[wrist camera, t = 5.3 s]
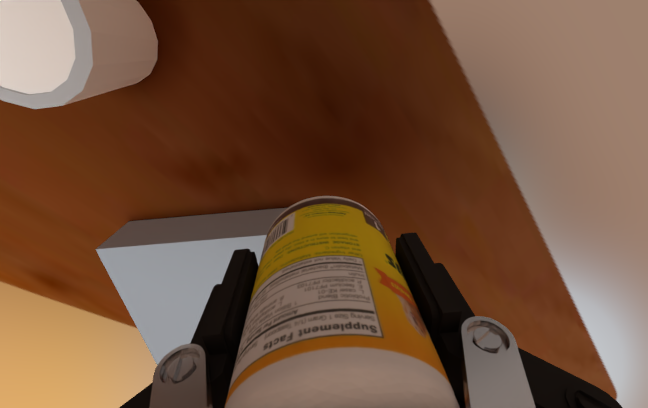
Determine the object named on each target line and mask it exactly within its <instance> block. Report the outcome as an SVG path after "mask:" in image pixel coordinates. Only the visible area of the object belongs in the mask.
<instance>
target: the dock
mask: <svg viewBox="0 0 648 408" xmlns="http://www.w3.org/2000/svg"><path fill="white" fill-rule="evenodd" d="M286 209H287V208H278V209H266V210H255V211H243V212H231V213H220V214H208V215H196V216H185V217H173V218H162V219H150V220H138V221H129V222H128V223H127V224H125V225H124V226H123V227H122V228H121V229H119V230H118V231H117V232H116V233H115V234H113V235H112V236H111V237H110V238H109V239H107V240H106V241H105V242H104V243H103V244H101V245H100V246H99V247H98V248H97V249H96V251H97V253H98V255H99V257H100V259H101V260H102V262H103V264H104V266H105V268H106V270H107V272H108V274H109V275H110V277H111V279H112V281H113V283H114V285H115V287H116V289H117V290H118V292H119V294H120V296H121V298H122V300H123V302H124V304H125V306H126V307H127V309H128V311H129V313H130V315H131V317H132V319H133V321H134V322H135V324H136V326H137V328H138V330H139V332H140V334H141V335H142V337H143V339H144V341H145V343H146V345H147V347H148V349H149V351H150V352H151V354H152V356H153V358H154V360H155V362H156V364H157V365H158V364H159V362H160V361H161V360H162V359H163V358H164V356H165V355H166V354H168V353H169V352H170V351H172V350H173V349H175V348H177V347H179V346H181V345H185V344H190V343H191V340H192V338H193V335H194V333H195V331H196V328H197V326H198V323H199V321H200V318H201V316H202V314H203V311H204V309H205V306H206V304H207V302H208V299H209V297H210V294H211V292H212V289H213V287H214V286H215V285H216V284H221V283H222V281H223V278H224V275H225V273H226V270H227V268H228V265H229V262H230V260H231V257H232V255H233V252H234V250H239V249H250V251H251V252H255V254H256V258H257V262H258V266H259V263H260V259H261V255H262V251H263V247H264V243H265V240H266V237H267V234H268V231H269V229H270V227H271V225H272V224H273V222H274V221H275V220H276V218H277V217H278V216H279V215H280V214H281V213H282V212H283V211H285V210H286Z"/></svg>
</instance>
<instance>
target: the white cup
mask: <svg viewBox="0 0 648 408" xmlns="http://www.w3.org/2000/svg"><path fill="white" fill-rule="evenodd" d="M157 55H158V40H157V37H156V33H155V30H154V27H153V24H152V21H151V19H150V18H149V17H148V15H147V14H146V12H145V11H144V9H143V8H142V6H141V5H140V4H139V2H138V1H137V0H0V99H1V100H2V101H6V102H9V103H13V104H17V105H21V106H25V107H28V108H32V109H39V108H48V107H56V106H63V105H66V104H69V103H73V102H76V101H79V100H83V99H86V98H89V97H93V96H96V95H99V94H103V93H106V92H109V91H112V90H116V89H119V88H122V87H126V86H129V85H132V84H136V83H138V82H140V81H141V80H143V79H144V78H145V77H147V76H148V75H150V74H151V72H152V70H153V68H154V65H155V63H156V61H157Z"/></svg>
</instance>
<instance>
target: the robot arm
mask: <svg viewBox="0 0 648 408" xmlns="http://www.w3.org/2000/svg"><path fill="white" fill-rule="evenodd" d="M396 259H397V261H398V263H399V266H400V268H401V270H402V272H403V275H404V277H405V279H406V281H407V283H408V286H409V288H410V291H411V293H412V296H413V298H414V300H415V303H416V305H417V307H418V310H419V312H420V314H421V317H422V319H423V321H424V323H425V326H426V328H427V331H428V333H429V335H430V338H431V340H432V342H433V345H434V347H435V349H436V351H437V354H438V356H439V358H440V361H441V363H442V365H443V368H444V370H445V372H446V375H447V377H448V380H449V382H450V384H451V387H452V389H453V391H454V394H455V397H456V399H457V402H458V404H459V407H460V408H622V407H621V405H620V404H619V403H618V402H617V401H616V400H615V399H613V398H612V397H611V396H610V395H609V394H607V393H606V392H604V391H603V390H601V389H599V388H598V387H596V386H594V385H592V384H590V383H588V382H586V381H584V380H582V379H580V378H578V377H576V376H574V375H572V374H570V373H568V372H566V371H564V370H562V369H560V368H558V367H556V366H554V365H552V364H550V363H548V362H546V361H544V360H542V359H540V358H538V357H536V356H534V355H532V354H530V353H528V352H526V351H524V350H522V349H520V348H518V347H517V344H516V341H515V339H514V337H513V335H512V333H511V332H510V331H509V330H508V329H507V328H506V327H505V326H503V325H502V324H501V323H499V322H497V321H495V320H493V319H490V318H487V317H479V316H475V315H474V313H473V312H472V310H471V309H470V307H469V305H468V304H467V302H466V301H465V299H464V297H463V296H462V294H461V293H460V291H459V289H458V288H457V286H456V285H455V283H454V281H453V280H452V278H451V277H450V275H449V273H448V272H447V270H446V269H445V267H444V266H443V265H442V264H441V263H435V264H434V262H433V261H432V259H431V257H430V256H429V254H428V252H427V250H426V249H425V247H424V245H423V244H422V242H421V240H420V239H419V237H418V235H417V234H416V233H406V234H401V237H400V238H397V239H396ZM258 267H259V266H258V262H257V258H256V254H255V252H251V251H250V249H239V250H234V252H233V255H232V257H231V260H230V262H229V265H228V268H227V270H226V273H225V275H224V278H223V281H222V283H221V284H216V285H215V286H214V287H213V289H212V292H211V294H210V297H209V299H208V302H207V304H206V306H205V309H204V311H203V314H202V316H201V318H200V321H199V323H198V326H197V328H196V331H195V333H194V335H193V338H192V340H191V343H190V344H185V345H181V346H179V347H177V348H175V349H173V350H172V351H170V352H169V353H168V354H166V355H165V356H164V358H163V359H162V360H161V361H160V362H159V364H158V365H157V367H156V369H155V373H154V377H153V383H151V384H150V385H149V386H148V387H146V388H145V389H144V390H142V391H141V392H140V393H138V394H137V395H136V396H135V397H133V398H132V399H130V400H129V401H128V402H126V403H125V404H124V405H122V406H121V407H120V408H225V403H226V399H227V396H228V391H229V387H230V383H231V379H232V374H233V370H234V366H235V362H236V358H237V354H238V350H239V346H240V341H241V337H242V333H243V329H244V325H245V320H246V317H247V313H248V308H249V304H250V299H251V295H252V291H253V287H254V283H255V279H256V275H257V271H258Z"/></svg>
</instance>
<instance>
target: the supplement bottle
mask: <svg viewBox="0 0 648 408" xmlns="http://www.w3.org/2000/svg"><path fill="white" fill-rule="evenodd" d="M225 408H460V407H459V404H458V402H457V399H456V397H455V394H454V391H453V389H452V387H451V384H450V382H449V380H448V377H447V375H446V372H445V370H444V368H443V365H442V363H441V361H440V358H439V356H438V354H437V351H436V349H435V347H434V345H433V342H432V340H431V338H430V335H429V333H428V331H427V328H426V326H425V323H424V321H423V319H422V317H421V314H420V312H419V310H418V307H417V305H416V303H415V300H414V298H413V296H412V293H411V291H410V288H409V286H408V283H407V281H406V279H405V277H404V275H403V272H402V270H401V268H400V266H399V263H398V261H397V259H396V256H395V254H394V252H393V250H392V247H391V245H390V242H389V240H388V238H387V235H386V233H385V231H384V229H383V227H382V225H381V224H380V222H379V220H378V219H377V218H376V217H375V216H374V215H373V214H372V213H371V212H370V211H369V210H368V209H367V208H366V207H364V206H363V205H361V204H359V203H357V202H355V201H353V200H350V199H347V198H343V197H337V196H318V197H312V198H308V199H305V200H302V201H300V202H297V203H295V204H294V205H292V206H290V207H289V208H287V209H286V210H285V211H283V212H282V213H281V214H280V215H279V216H278V217H277V218H276V220H275V221H274V222H273V224H272V225H271V227H270V229H269V231H268V234H267V237H266V240H265V243H264V247H263V251H262V255H261V259H260V263H259V267H258V271H257V275H256V279H255V283H254V287H253V291H252V295H251V299H250V304H249V308H248V313H247V317H246V320H245V325H244V329H243V333H242V337H241V341H240V346H239V350H238V354H237V358H236V362H235V366H234V370H233V374H232V379H231V383H230V387H229V391H228V396H227V399H226V403H225Z"/></svg>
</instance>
